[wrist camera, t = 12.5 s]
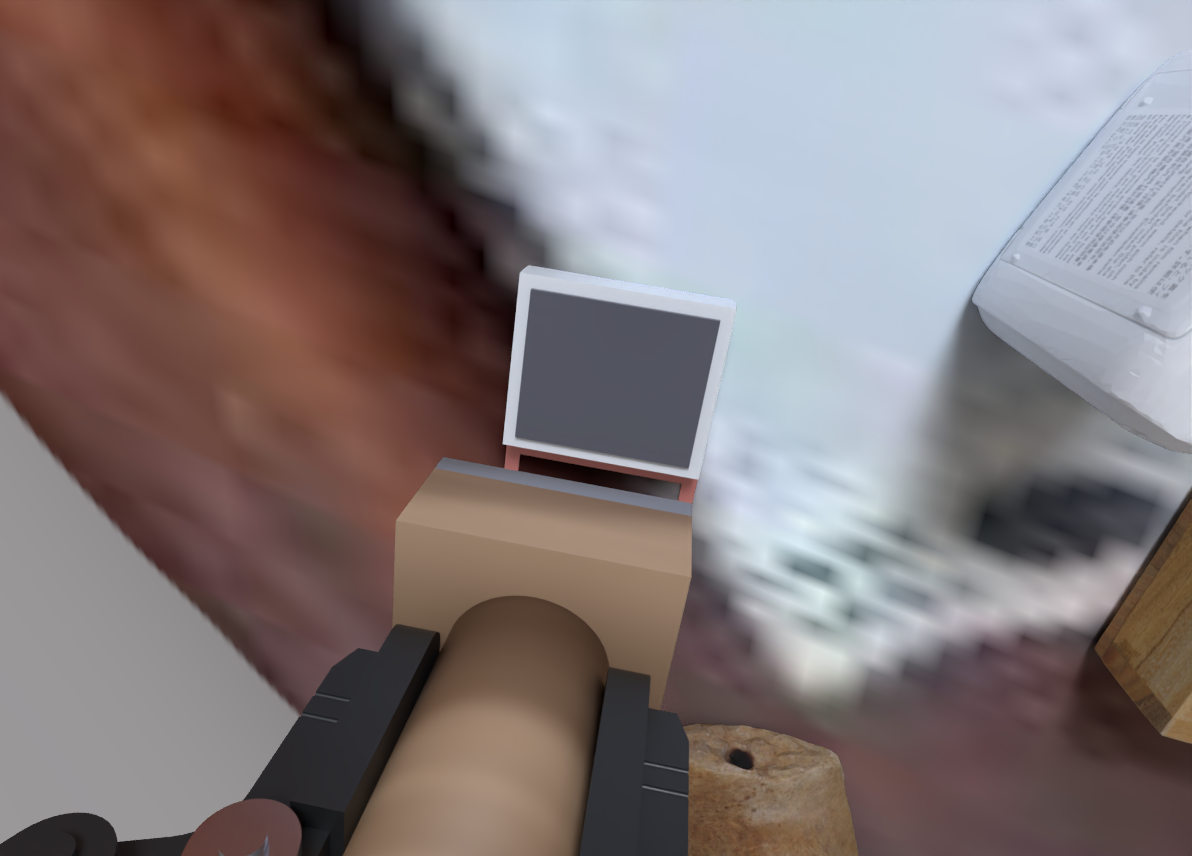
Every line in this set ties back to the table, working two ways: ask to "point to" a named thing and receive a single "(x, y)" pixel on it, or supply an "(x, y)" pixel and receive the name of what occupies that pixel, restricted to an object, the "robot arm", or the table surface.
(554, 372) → the ink pad
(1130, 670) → the tray
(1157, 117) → the photo printer
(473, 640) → the hand stamp
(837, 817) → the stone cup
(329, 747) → the robot arm
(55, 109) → the table surface
